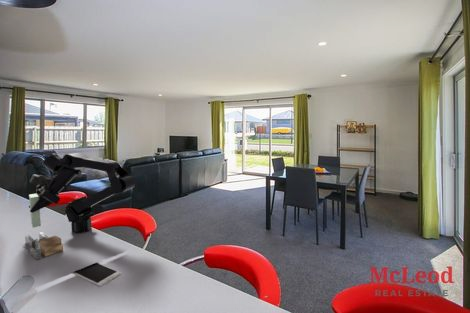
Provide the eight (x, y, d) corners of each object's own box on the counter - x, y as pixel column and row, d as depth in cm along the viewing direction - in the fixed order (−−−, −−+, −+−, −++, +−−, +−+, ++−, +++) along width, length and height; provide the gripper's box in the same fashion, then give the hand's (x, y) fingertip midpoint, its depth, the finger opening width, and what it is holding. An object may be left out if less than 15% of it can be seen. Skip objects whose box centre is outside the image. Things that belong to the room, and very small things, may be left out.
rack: (46, 239, 99) (46, 229, 98) (64, 253, 88) (63, 243, 88) (21, 246, 92) (20, 236, 92) (36, 263, 82) (35, 251, 81)
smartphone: (90, 262, 84) (90, 259, 84) (121, 275, 77) (121, 272, 77) (68, 272, 78) (68, 270, 77) (100, 288, 71) (99, 284, 71)
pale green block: (39, 221, 101) (36, 193, 100) (40, 226, 97) (38, 196, 95) (31, 223, 99) (28, 194, 98) (32, 227, 95) (30, 197, 94)
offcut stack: (58, 245, 92) (57, 234, 91) (63, 250, 89) (62, 238, 88) (40, 251, 87) (39, 240, 87) (44, 256, 84) (44, 244, 84)
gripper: (41, 164, 105) (8, 193, 99) (47, 170, 91) (9, 204, 85) (64, 179, 111) (35, 208, 105) (73, 187, 98) (40, 220, 91)
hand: (30, 209), depth 96 cm, fingers closed on pale green block, 6 cm apart
